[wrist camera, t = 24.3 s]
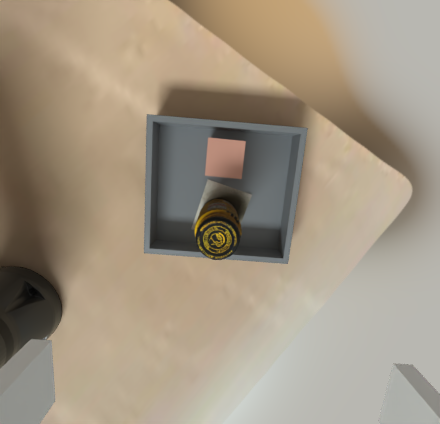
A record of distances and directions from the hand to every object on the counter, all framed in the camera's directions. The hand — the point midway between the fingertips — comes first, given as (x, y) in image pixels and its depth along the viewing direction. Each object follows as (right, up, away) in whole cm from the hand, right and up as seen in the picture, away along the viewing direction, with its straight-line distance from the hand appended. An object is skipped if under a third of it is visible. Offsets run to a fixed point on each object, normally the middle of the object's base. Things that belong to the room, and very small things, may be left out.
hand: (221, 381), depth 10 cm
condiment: (0, +7, +31) cm, 32 cm away
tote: (0, +10, +31) cm, 33 cm away
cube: (+1, +15, +29) cm, 33 cm away
